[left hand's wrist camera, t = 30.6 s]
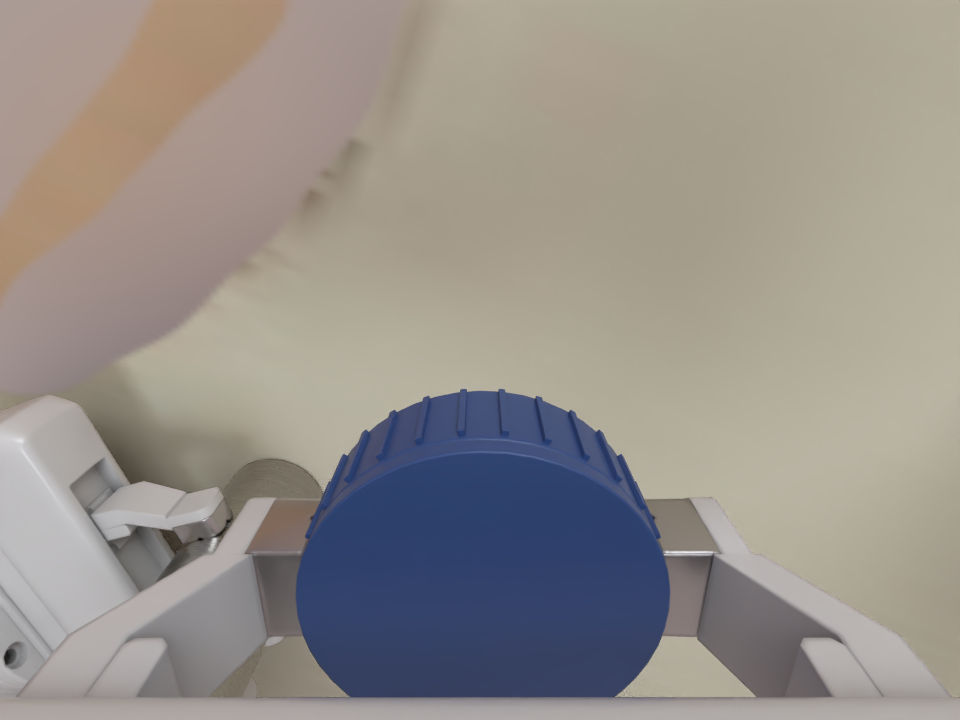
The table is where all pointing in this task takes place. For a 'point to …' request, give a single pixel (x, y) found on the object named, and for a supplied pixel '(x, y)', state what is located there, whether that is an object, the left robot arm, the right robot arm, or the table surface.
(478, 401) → the lid
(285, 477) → the jar
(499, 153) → the table surface
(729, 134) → the table surface
